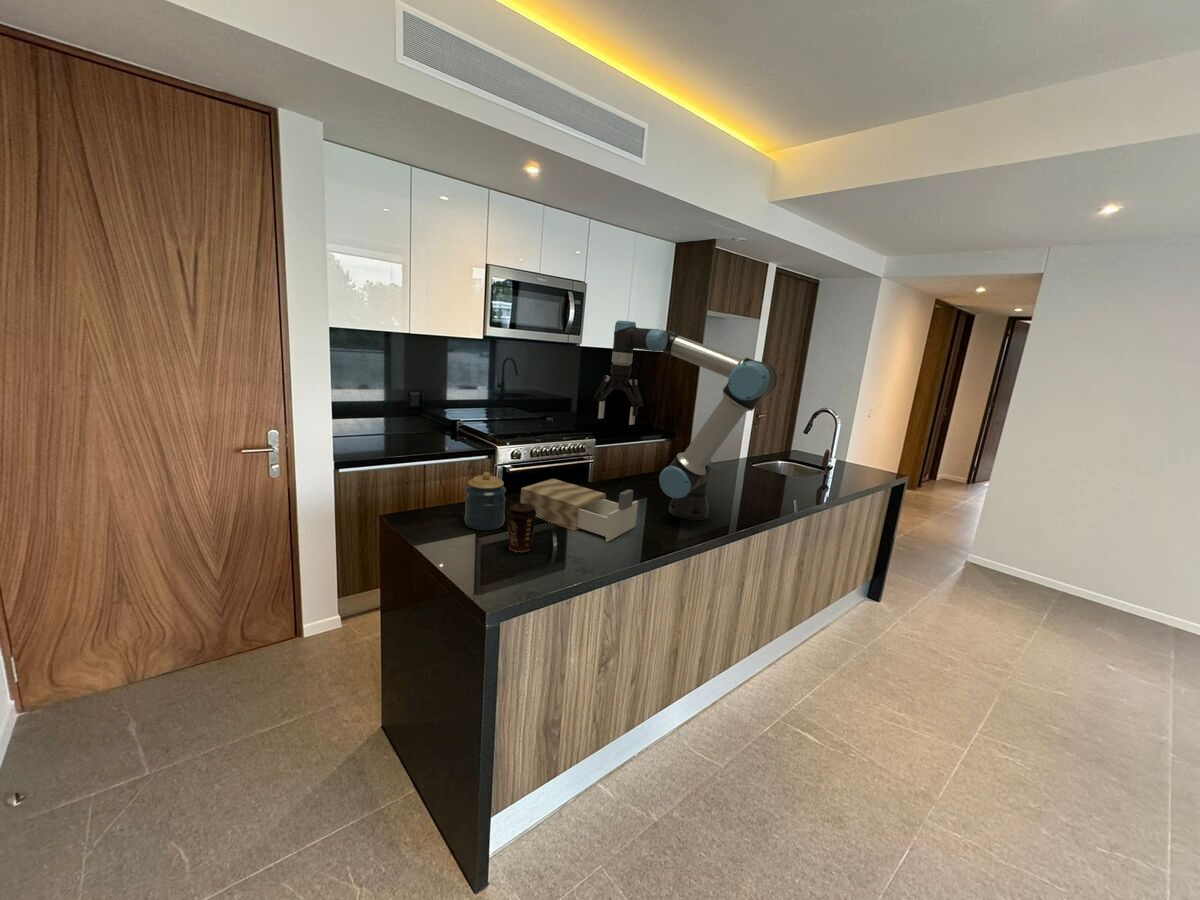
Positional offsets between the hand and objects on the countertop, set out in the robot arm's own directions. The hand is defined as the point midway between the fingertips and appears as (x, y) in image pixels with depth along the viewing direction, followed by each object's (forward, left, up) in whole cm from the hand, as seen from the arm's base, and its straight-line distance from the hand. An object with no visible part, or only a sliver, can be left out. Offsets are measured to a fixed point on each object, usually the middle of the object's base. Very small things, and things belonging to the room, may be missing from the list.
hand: (615, 421), depth 188 cm
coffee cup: (-3, +54, -33) cm, 63 cm away
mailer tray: (-9, +23, -32) cm, 41 cm away
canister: (+18, +48, -33) cm, 61 cm away
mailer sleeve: (+5, +23, -33) cm, 40 cm away
